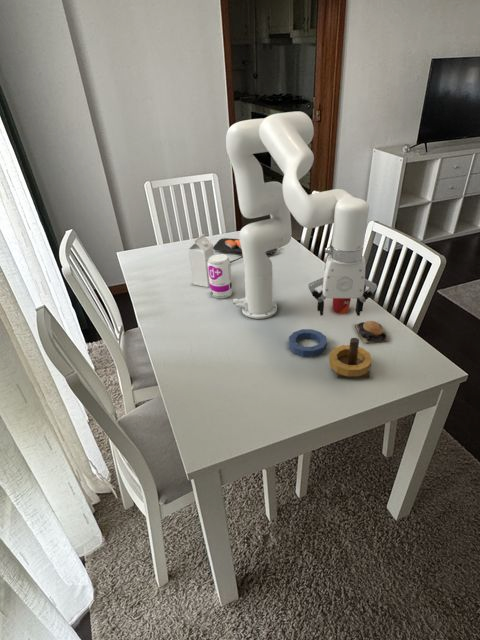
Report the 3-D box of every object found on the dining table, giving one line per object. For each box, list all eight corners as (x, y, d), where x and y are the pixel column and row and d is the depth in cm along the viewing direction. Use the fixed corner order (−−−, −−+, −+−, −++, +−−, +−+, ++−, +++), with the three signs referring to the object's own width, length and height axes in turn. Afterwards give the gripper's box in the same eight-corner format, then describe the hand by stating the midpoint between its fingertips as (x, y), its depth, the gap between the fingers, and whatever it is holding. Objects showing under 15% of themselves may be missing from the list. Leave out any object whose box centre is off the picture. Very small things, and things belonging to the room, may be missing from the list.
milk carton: (192, 284, 164) (186, 239, 153) (201, 277, 169) (195, 232, 158) (208, 287, 162) (203, 241, 150) (216, 279, 167) (212, 234, 156)
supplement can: (224, 301, 152) (220, 264, 144) (206, 296, 156) (202, 259, 147) (236, 292, 158) (234, 255, 149) (219, 287, 162) (216, 251, 153)
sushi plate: (279, 245, 195) (279, 237, 192) (265, 272, 171) (265, 264, 169) (221, 241, 200) (220, 233, 198) (199, 267, 177) (198, 259, 175)
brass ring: (332, 376, 114) (333, 369, 112) (327, 352, 123) (327, 345, 122) (374, 376, 114) (375, 369, 112) (365, 351, 123) (367, 344, 122)
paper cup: (351, 316, 142) (355, 280, 134) (329, 314, 143) (332, 278, 135) (351, 305, 148) (356, 269, 140) (330, 303, 149) (333, 268, 141)
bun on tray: (353, 326, 137) (354, 316, 135) (377, 324, 138) (379, 314, 136) (363, 344, 129) (365, 334, 127) (389, 341, 129) (391, 332, 127)
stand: (337, 378, 116) (340, 349, 110) (333, 358, 123) (336, 331, 117) (369, 378, 115) (374, 349, 110) (363, 358, 123) (368, 331, 117)
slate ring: (289, 357, 124) (289, 350, 123) (288, 335, 133) (288, 329, 132) (327, 357, 124) (328, 350, 122) (324, 335, 133) (325, 329, 131)
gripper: (311, 259, 96) (307, 320, 106) (386, 259, 95) (374, 321, 105) (309, 246, 102) (305, 305, 112) (379, 246, 101) (369, 305, 111)
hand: (339, 313), depth 109 cm, fingers open, 9 cm apart
